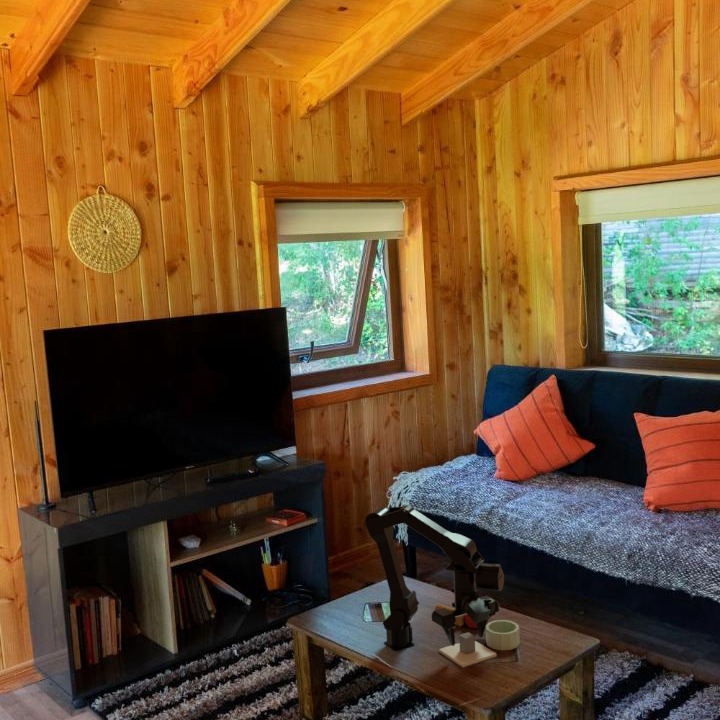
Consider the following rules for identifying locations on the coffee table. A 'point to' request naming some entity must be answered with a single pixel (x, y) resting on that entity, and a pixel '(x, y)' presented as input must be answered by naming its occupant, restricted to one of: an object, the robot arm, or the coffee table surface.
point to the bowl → (502, 635)
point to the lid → (467, 651)
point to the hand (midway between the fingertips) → (466, 641)
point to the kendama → (460, 619)
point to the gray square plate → (468, 665)
